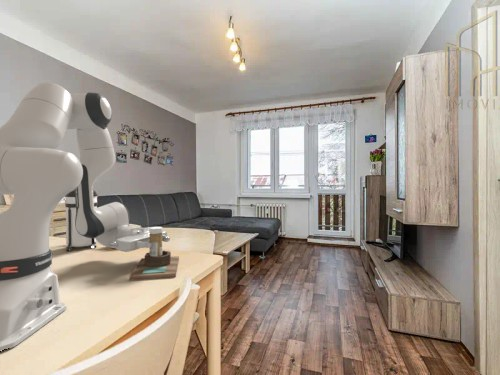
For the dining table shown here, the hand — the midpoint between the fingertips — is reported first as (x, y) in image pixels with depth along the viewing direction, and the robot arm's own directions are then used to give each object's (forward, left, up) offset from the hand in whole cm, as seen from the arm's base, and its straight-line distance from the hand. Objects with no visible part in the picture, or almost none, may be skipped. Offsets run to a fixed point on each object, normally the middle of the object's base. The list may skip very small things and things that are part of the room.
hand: (159, 242), depth 91 cm
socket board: (-1, +1, -9) cm, 9 cm away
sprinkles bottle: (0, +1, -8) cm, 8 cm away
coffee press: (+37, +40, -9) cm, 55 cm away
